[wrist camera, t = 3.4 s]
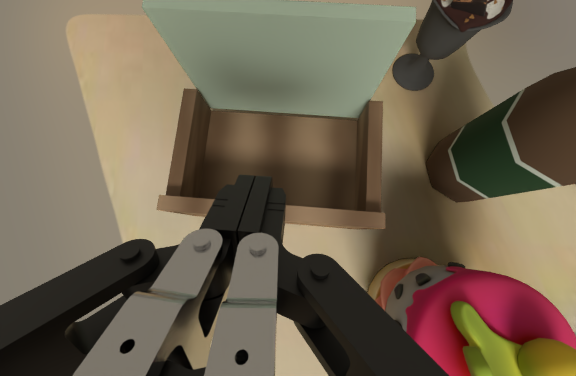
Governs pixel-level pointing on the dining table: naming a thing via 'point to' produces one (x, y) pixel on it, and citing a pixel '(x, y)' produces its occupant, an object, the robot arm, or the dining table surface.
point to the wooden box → (280, 162)
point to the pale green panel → (283, 51)
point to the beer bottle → (512, 145)
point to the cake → (476, 320)
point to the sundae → (446, 36)
